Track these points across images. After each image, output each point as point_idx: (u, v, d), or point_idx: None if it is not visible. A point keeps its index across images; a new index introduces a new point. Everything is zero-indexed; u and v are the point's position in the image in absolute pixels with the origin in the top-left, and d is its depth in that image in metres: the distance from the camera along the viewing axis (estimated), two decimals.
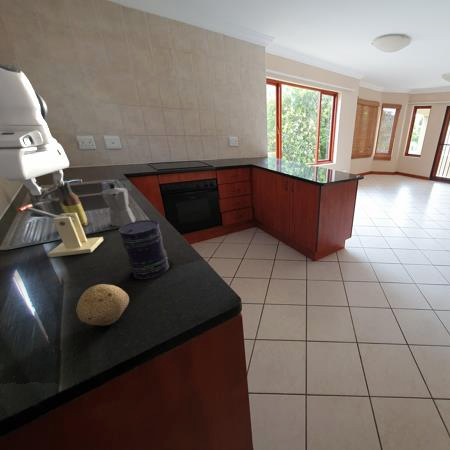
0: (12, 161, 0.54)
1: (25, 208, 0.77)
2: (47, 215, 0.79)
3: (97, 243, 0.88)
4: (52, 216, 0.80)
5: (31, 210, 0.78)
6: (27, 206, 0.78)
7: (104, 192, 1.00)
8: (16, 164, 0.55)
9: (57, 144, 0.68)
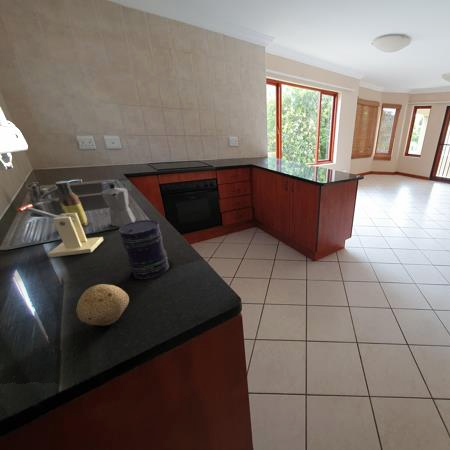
0: None
1: (25, 208, 0.77)
2: (47, 215, 0.79)
3: (97, 243, 0.88)
4: (52, 216, 0.80)
5: (31, 210, 0.78)
6: (27, 206, 0.78)
7: (104, 192, 1.00)
8: None
9: (14, 128, 0.75)
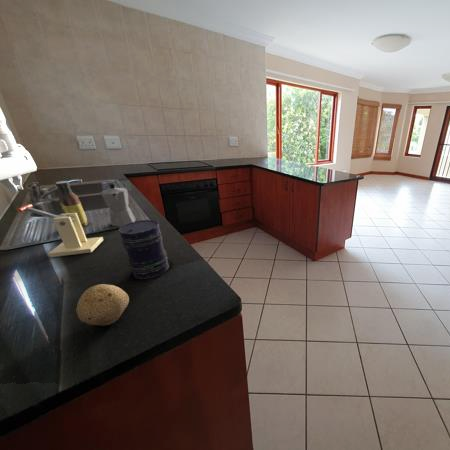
0: None
1: (25, 208, 0.77)
2: (47, 215, 0.79)
3: (97, 243, 0.88)
4: (52, 216, 0.80)
5: (31, 210, 0.78)
6: (27, 206, 0.78)
7: (104, 192, 0.99)
8: None
9: (24, 150, 0.77)
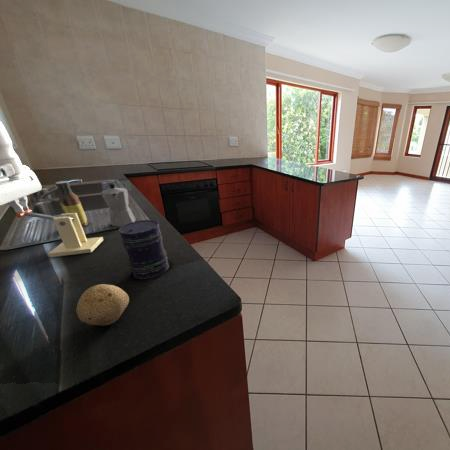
0: None
1: (24, 213, 0.77)
2: (47, 217, 0.80)
3: (97, 243, 0.88)
4: (52, 218, 0.80)
5: (30, 214, 0.78)
6: (26, 211, 0.78)
7: (104, 192, 0.99)
8: None
9: (30, 171, 0.80)
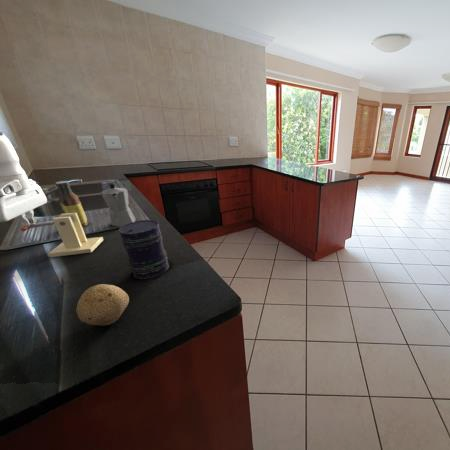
0: None
1: (28, 226, 0.79)
2: (48, 223, 0.80)
3: (97, 243, 0.88)
4: (52, 222, 0.81)
5: (33, 225, 0.79)
6: None
7: (104, 192, 1.00)
8: None
9: (35, 185, 0.82)
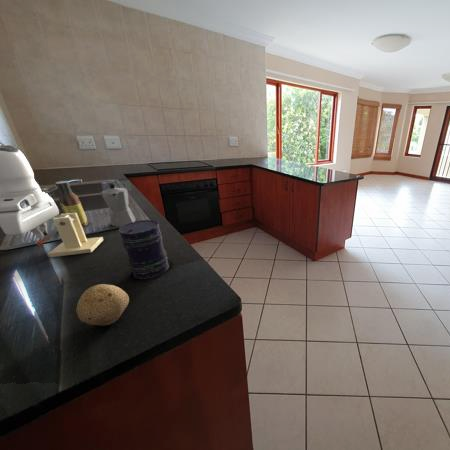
0: (12, 222, 0.70)
1: (42, 240, 0.81)
2: (55, 230, 0.82)
3: (97, 243, 0.88)
4: None
5: (45, 237, 0.82)
6: (43, 238, 0.83)
7: (104, 192, 1.00)
8: (15, 224, 0.70)
9: (48, 198, 0.84)
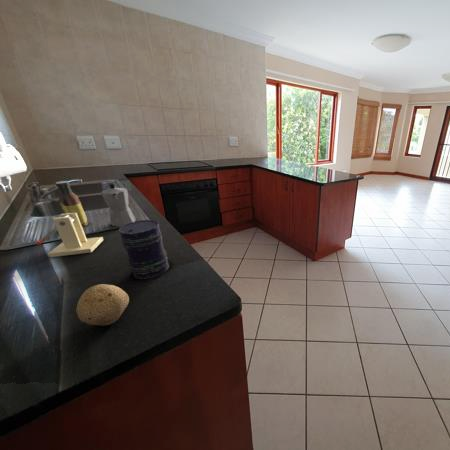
0: None
1: (41, 239, 0.81)
2: (54, 230, 0.82)
3: (97, 243, 0.88)
4: None
5: (45, 237, 0.82)
6: (42, 238, 0.82)
7: (104, 192, 0.99)
8: None
9: (14, 151, 0.77)
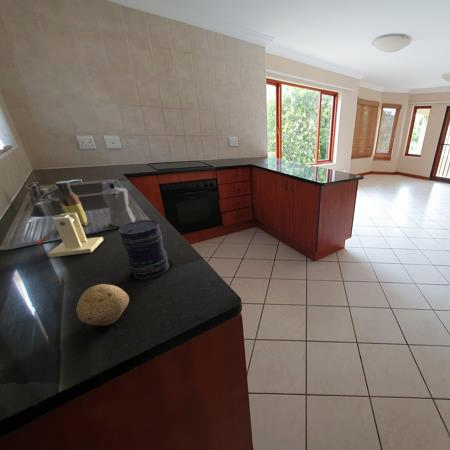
0: None
1: (41, 239, 0.81)
2: (54, 230, 0.82)
3: (97, 243, 0.88)
4: None
5: (45, 237, 0.82)
6: (42, 238, 0.82)
7: (104, 192, 1.00)
8: None
9: None
